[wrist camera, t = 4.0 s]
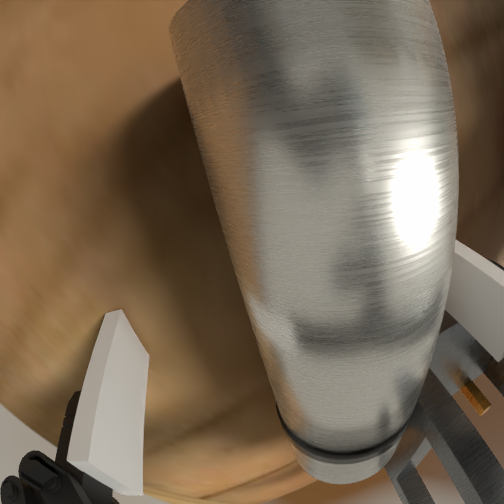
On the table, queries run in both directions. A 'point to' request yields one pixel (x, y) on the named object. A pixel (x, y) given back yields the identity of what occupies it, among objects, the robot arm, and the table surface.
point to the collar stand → (451, 423)
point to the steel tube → (330, 204)
